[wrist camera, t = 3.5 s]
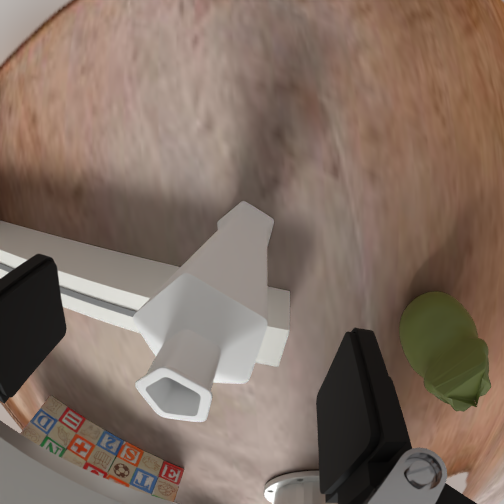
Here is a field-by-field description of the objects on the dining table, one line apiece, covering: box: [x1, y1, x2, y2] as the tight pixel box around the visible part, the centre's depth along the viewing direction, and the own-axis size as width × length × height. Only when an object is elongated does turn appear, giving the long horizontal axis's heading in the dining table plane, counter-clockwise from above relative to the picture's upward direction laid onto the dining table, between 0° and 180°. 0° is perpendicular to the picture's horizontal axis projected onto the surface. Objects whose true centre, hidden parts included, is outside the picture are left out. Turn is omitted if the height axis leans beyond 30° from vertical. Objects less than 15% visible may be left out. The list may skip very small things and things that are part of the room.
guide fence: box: [0, 220, 290, 367], centre depth 20 cm, size 32×12×5 cm, turn 79°
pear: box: [399, 291, 491, 411], centre depth 17 cm, size 6×5×10 cm
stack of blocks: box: [20, 395, 184, 502], centre depth 29 cm, size 21×6×12 cm, turn 62°
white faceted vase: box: [133, 201, 274, 422], centre depth 14 cm, size 5×4×15 cm
